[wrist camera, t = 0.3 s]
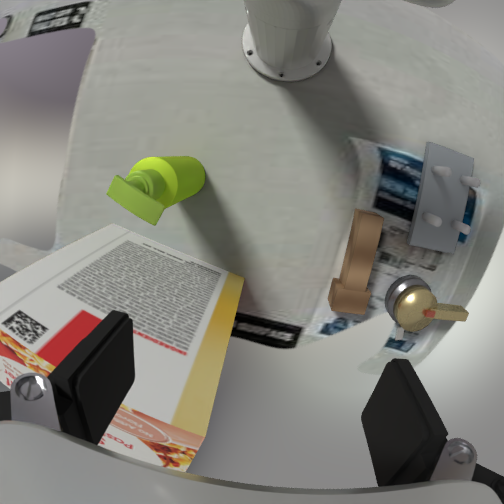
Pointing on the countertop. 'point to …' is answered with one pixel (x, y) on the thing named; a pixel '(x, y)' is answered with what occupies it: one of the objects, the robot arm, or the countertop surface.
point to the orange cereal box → (144, 333)
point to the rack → (442, 199)
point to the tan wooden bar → (357, 264)
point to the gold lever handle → (423, 309)
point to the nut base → (395, 291)
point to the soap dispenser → (157, 185)
